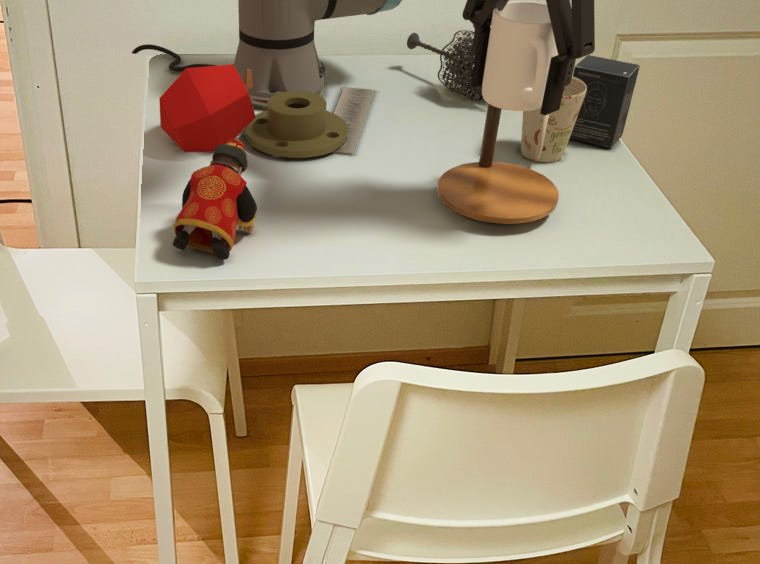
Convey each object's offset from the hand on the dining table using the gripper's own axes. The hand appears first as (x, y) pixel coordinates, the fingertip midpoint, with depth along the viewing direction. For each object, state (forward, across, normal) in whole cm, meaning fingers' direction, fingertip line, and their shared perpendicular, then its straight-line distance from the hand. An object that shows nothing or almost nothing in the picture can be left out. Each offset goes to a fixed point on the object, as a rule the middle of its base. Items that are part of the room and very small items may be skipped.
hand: (514, 97), depth 114 cm
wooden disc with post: (+13, 0, 0) cm, 13 cm away
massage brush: (+5, -29, +23) cm, 38 cm away
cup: (+1, +1, 0) cm, 1 cm away
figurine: (+14, -14, -38) cm, 43 cm away
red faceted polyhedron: (+12, -42, -24) cm, 50 cm away
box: (+15, -4, +27) cm, 31 cm away
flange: (+11, -25, -4) cm, 28 cm away
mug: (+15, -5, +16) cm, 22 cm away
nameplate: (+14, -30, +5) cm, 33 cm away
